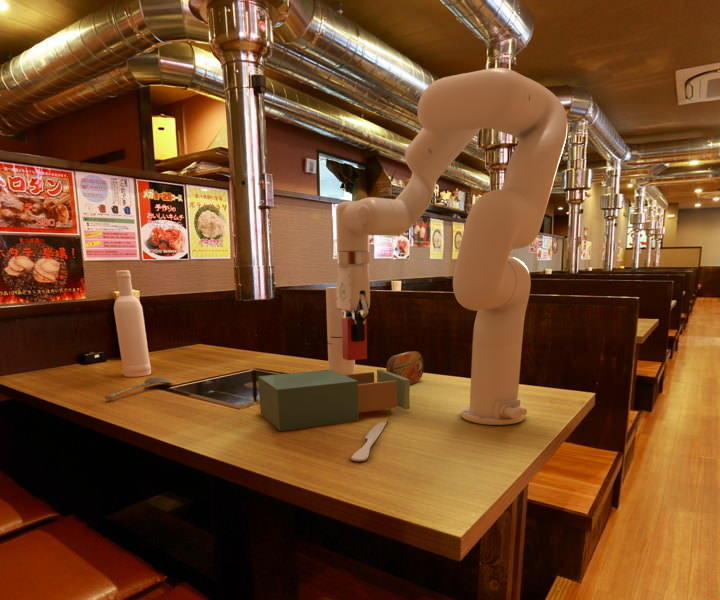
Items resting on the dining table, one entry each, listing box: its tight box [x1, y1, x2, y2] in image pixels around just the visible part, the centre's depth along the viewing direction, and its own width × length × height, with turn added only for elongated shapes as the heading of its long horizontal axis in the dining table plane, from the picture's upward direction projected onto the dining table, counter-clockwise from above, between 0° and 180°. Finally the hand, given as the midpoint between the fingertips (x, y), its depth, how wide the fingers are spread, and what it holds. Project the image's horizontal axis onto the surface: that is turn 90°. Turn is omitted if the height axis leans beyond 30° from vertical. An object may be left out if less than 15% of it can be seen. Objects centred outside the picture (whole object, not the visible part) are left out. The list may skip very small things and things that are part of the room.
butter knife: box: [350, 420, 388, 463], centre depth 101 cm, size 1×24×3 cm
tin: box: [385, 350, 425, 386], centre depth 147 cm, size 15×3×8 cm, turn 143°
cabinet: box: [257, 369, 360, 432], centre depth 116 cm, size 17×15×8 cm
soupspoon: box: [104, 376, 173, 402], centre depth 144 cm, size 22×3×7 cm
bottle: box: [113, 269, 152, 378], centre depth 163 cm, size 8×8×30 cm
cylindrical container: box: [325, 286, 356, 375], centre depth 147 cm, size 7×7×25 cm
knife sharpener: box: [342, 315, 368, 361], centre depth 134 cm, size 4×5×10 cm
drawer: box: [345, 368, 411, 413], centre depth 121 cm, size 17×14×6 cm
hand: (354, 339), depth 134 cm, fingers closed on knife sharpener, 3 cm apart
